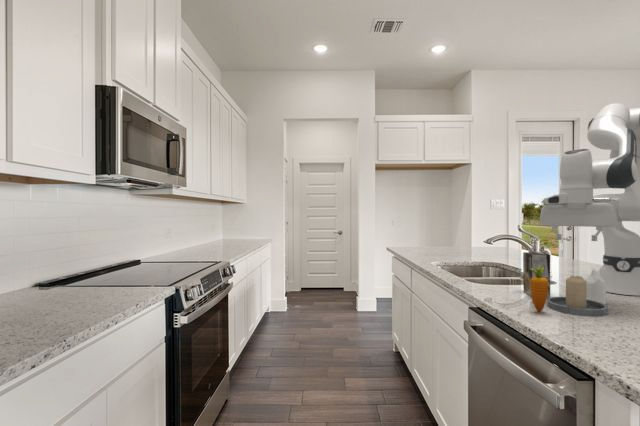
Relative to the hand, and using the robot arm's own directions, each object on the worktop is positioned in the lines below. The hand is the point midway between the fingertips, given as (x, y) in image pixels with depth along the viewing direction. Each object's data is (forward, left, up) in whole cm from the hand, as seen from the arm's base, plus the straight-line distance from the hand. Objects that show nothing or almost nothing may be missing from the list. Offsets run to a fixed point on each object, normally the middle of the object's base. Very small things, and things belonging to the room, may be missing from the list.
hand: (576, 240), depth 114 cm
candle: (0, 0, -22) cm, 22 cm away
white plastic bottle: (-14, +5, -23) cm, 27 cm away
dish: (0, 0, -23) cm, 23 cm away
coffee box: (-14, -13, -23) cm, 30 cm away
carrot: (+12, -9, -23) cm, 27 cm away
